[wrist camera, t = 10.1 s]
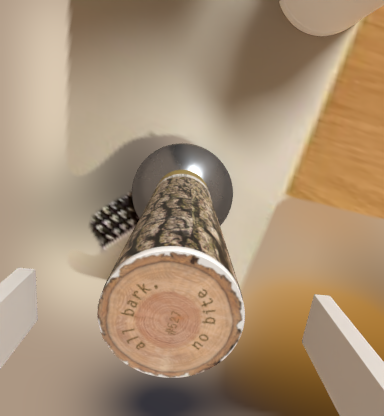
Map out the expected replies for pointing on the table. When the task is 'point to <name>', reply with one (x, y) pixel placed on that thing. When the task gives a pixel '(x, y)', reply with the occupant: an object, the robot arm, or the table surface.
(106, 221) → the table surface
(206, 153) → the stand
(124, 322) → the paper tube
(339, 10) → the jar
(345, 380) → the robot arm
